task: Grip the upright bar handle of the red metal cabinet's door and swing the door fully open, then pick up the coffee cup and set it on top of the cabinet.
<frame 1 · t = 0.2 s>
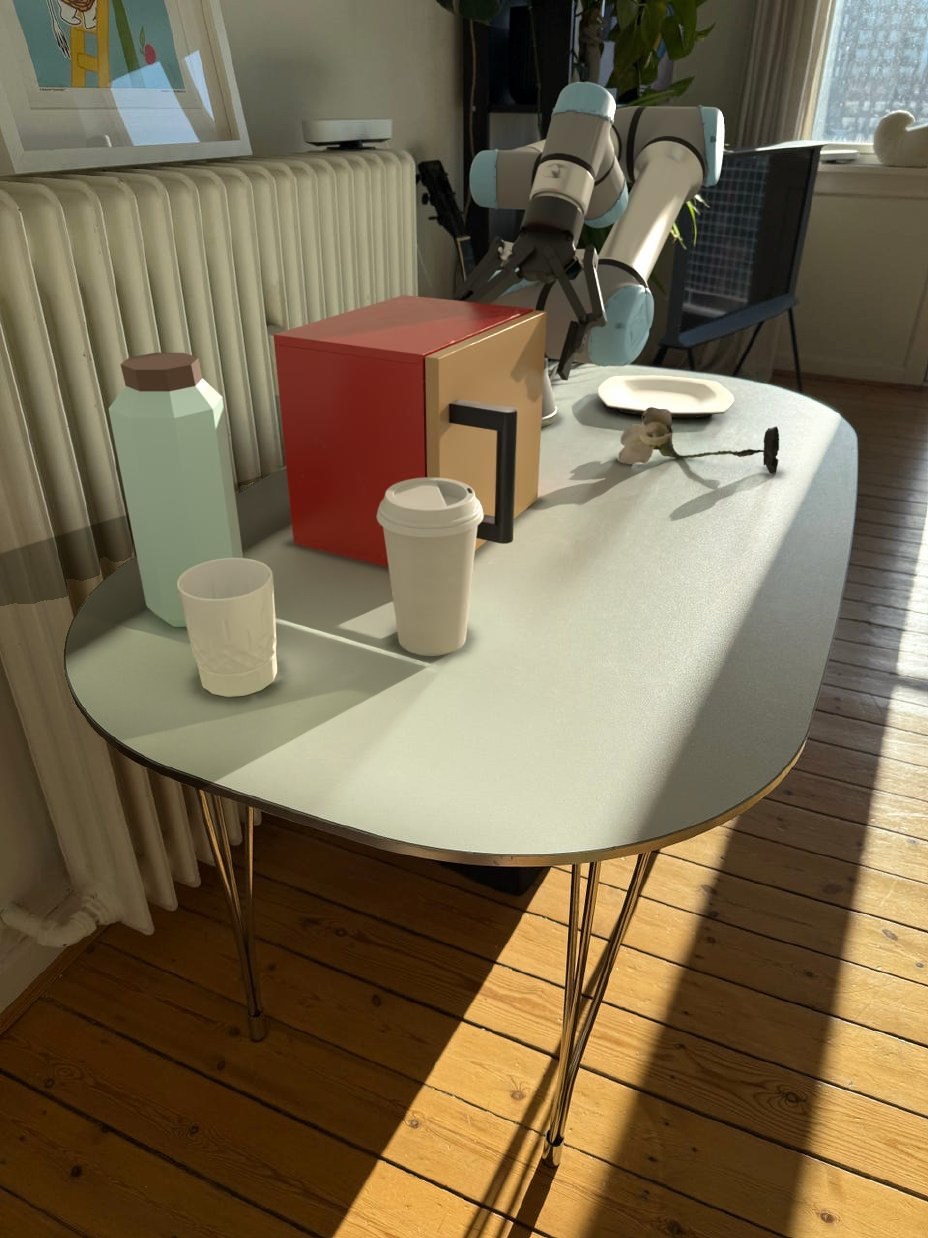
hand: (511, 368, 113), 16 cm above the table, tool tilted 35°, fingers open, 13 cm apart
cabinet: (416, 520, 112), on the table
plate: (663, 404, 156), on the table
artificial flower: (693, 466, 129), on the table
coffee cup: (432, 640, 87), on the table
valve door: (517, 443, 100), point 12 cm above the table, hinge at 0.0°
white cup: (239, 678, 81), on the table
water bottle: (199, 609, 92), on the table
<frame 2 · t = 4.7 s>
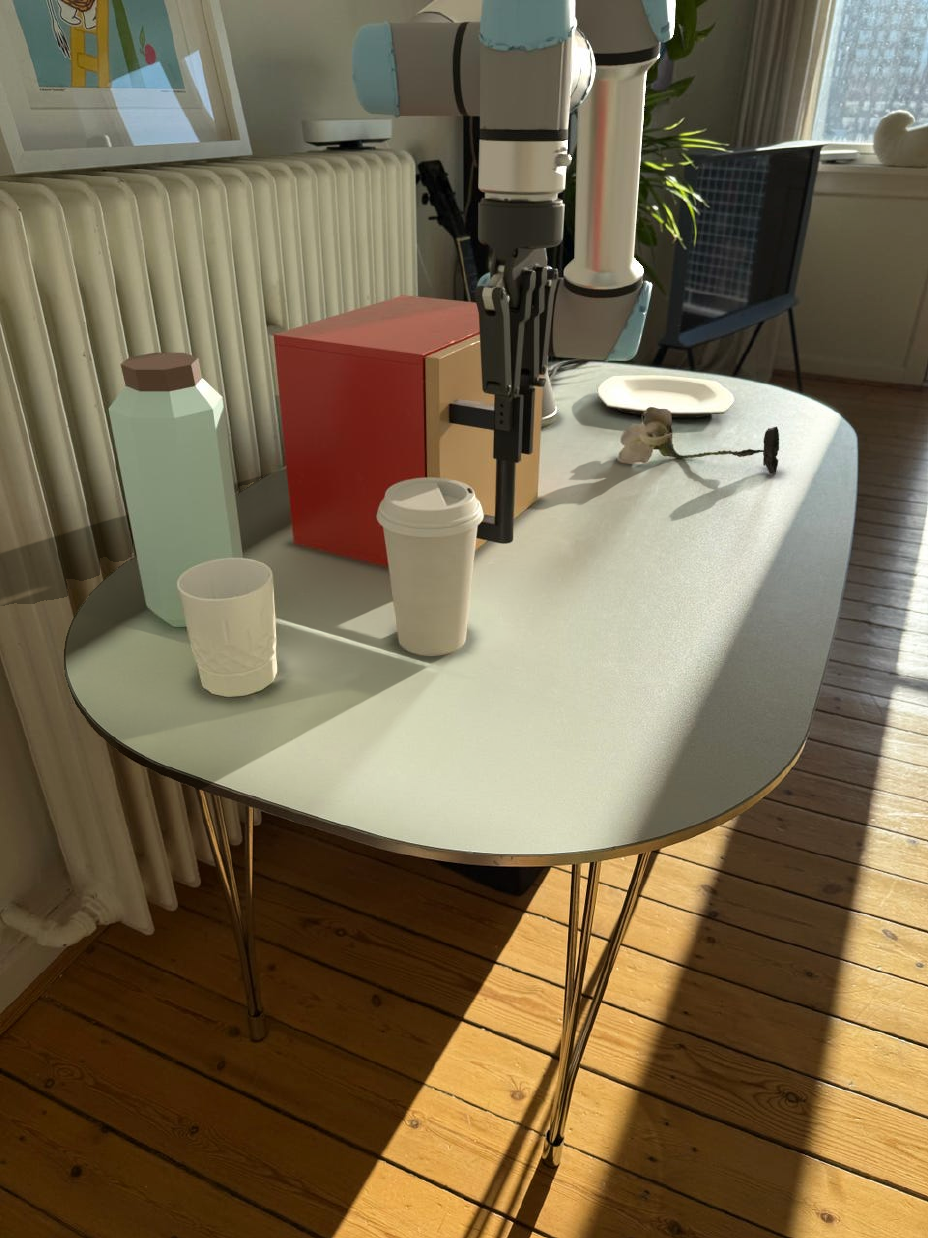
hand: (512, 454, 90), 14 cm above the table, tool pointing down, fingers closed on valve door, 2 cm apart
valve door: (518, 443, 100), point 12 cm above the table, hinge at 0.0°, touching gripper
everything else where it was.
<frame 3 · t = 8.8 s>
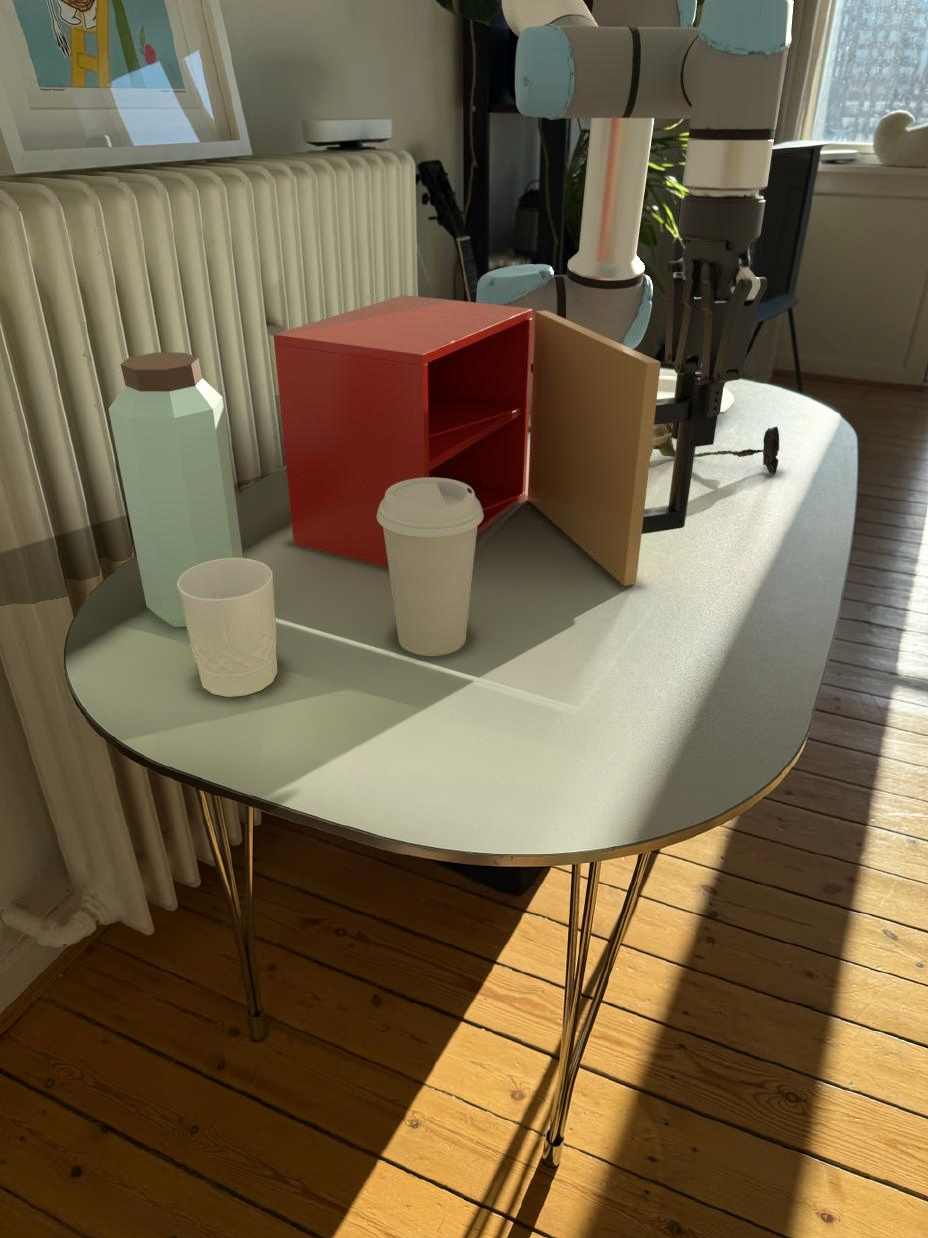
hand: (692, 440, 94), 14 cm above the table, tool pointing down, fingers open, 2 cm apart
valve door: (611, 438, 102), point 12 cm above the table, hinge at 47.9°, touching gripper
everything else where it was.
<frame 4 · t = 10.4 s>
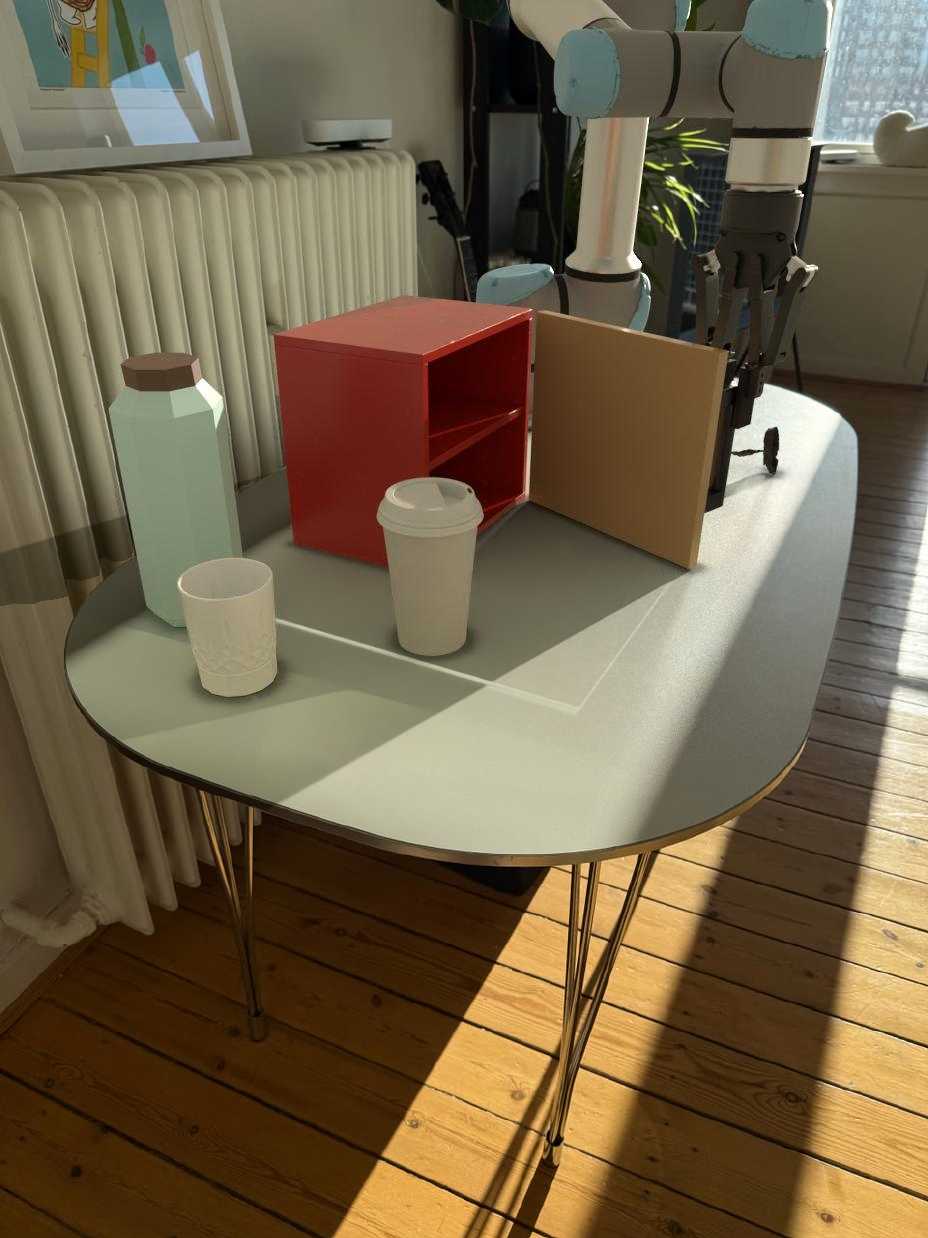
hand: (729, 422, 99), 14 cm above the table, tool pointing down, fingers closed on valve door, 2 cm apart
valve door: (635, 429, 105), point 12 cm above the table, hinge at 67.5°, touching gripper
everything else where it was.
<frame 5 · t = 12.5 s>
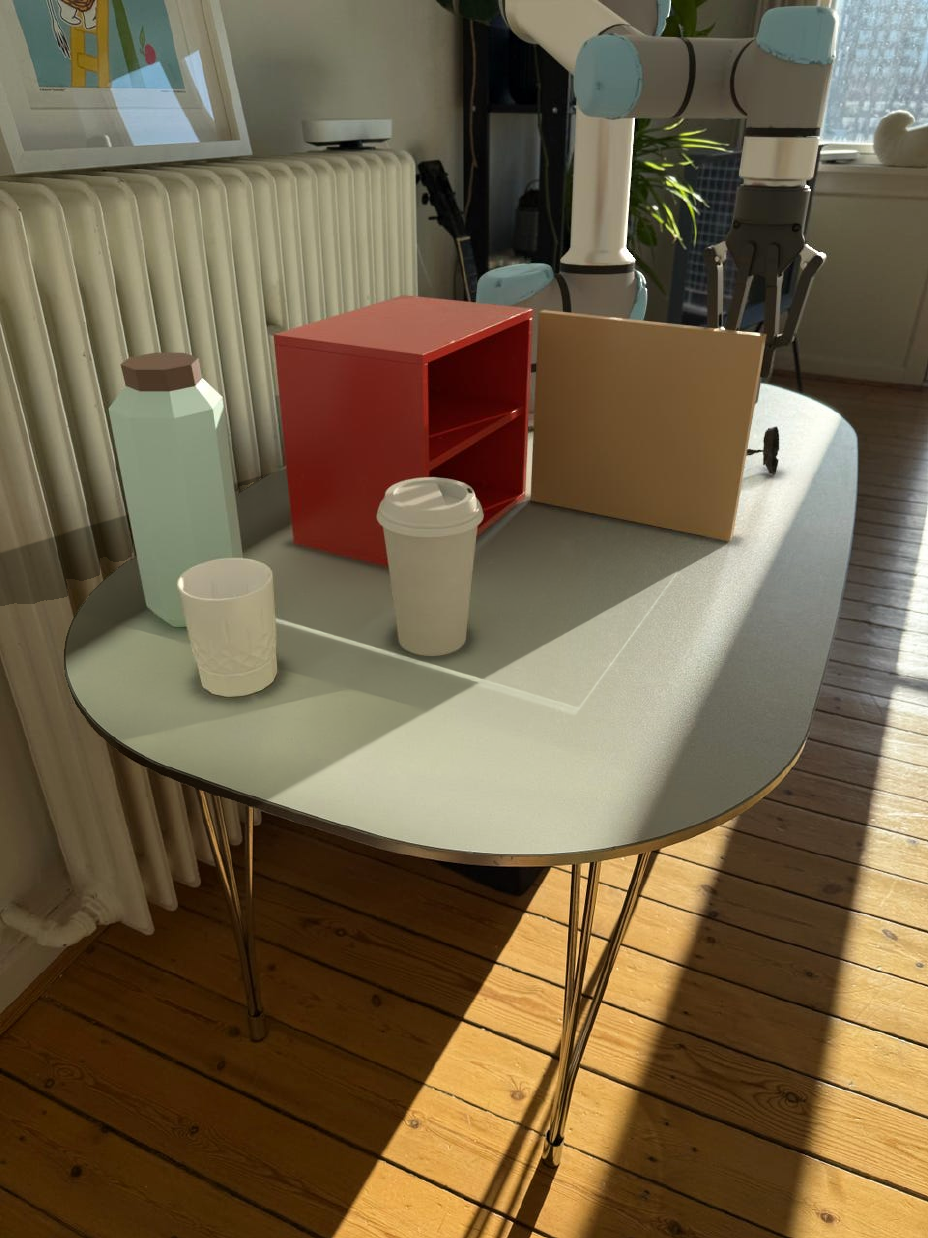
hand: (740, 401, 107), 14 cm above the table, tool pointing down, fingers open, 2 cm apart
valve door: (646, 417, 109), point 12 cm above the table, hinge at 89.3°
everything else where it was.
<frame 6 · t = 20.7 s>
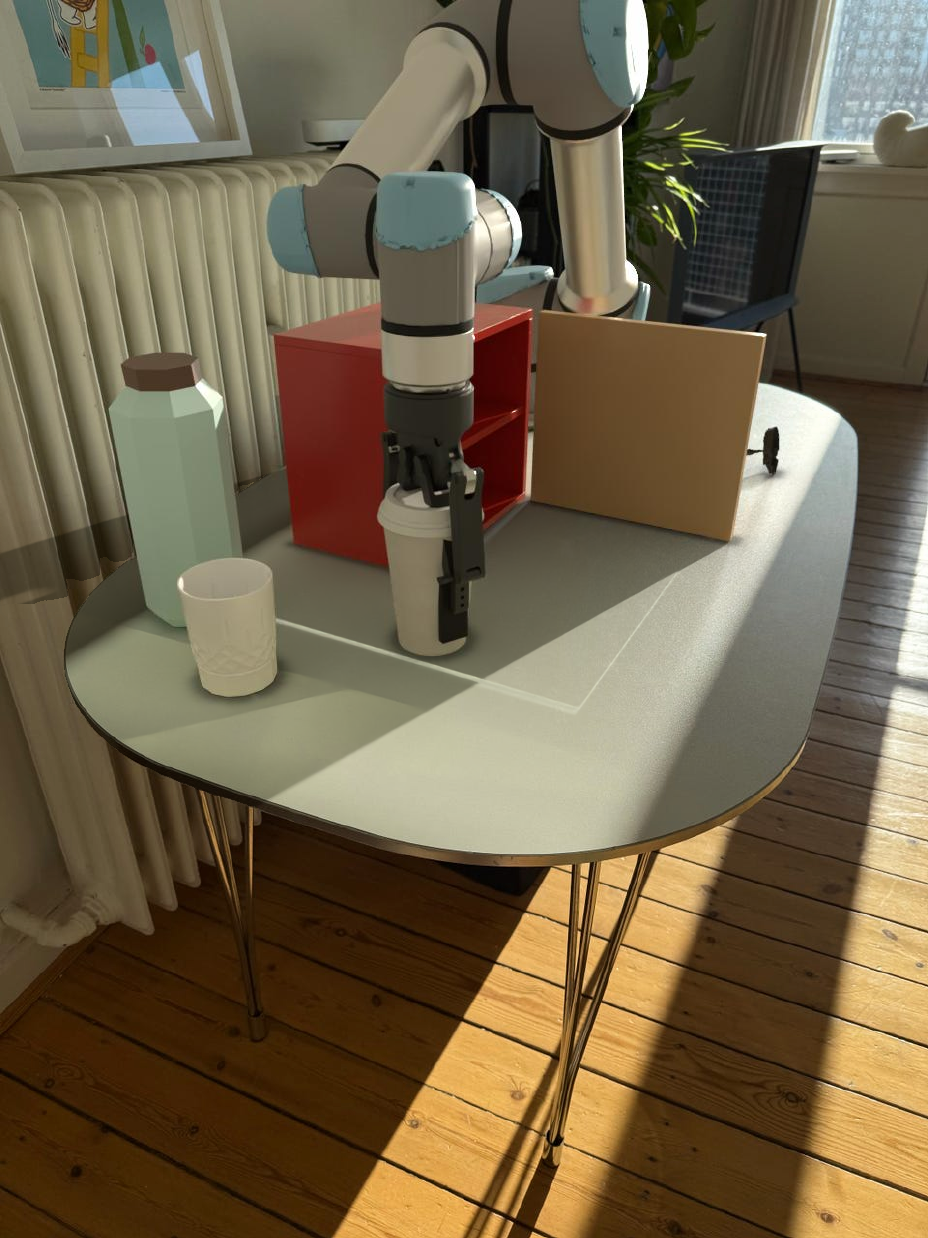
hand: (431, 620, 86), 2 cm above the table, tool pointing down, fingers closed on coffee cup, 7 cm apart
coffee cup: (432, 640, 87), on the table, touching gripper
everything else where it was.
when the fingers open (26 cm above the table, at t = 28.1 s): coffee cup stays where it is, resting on cabinet.
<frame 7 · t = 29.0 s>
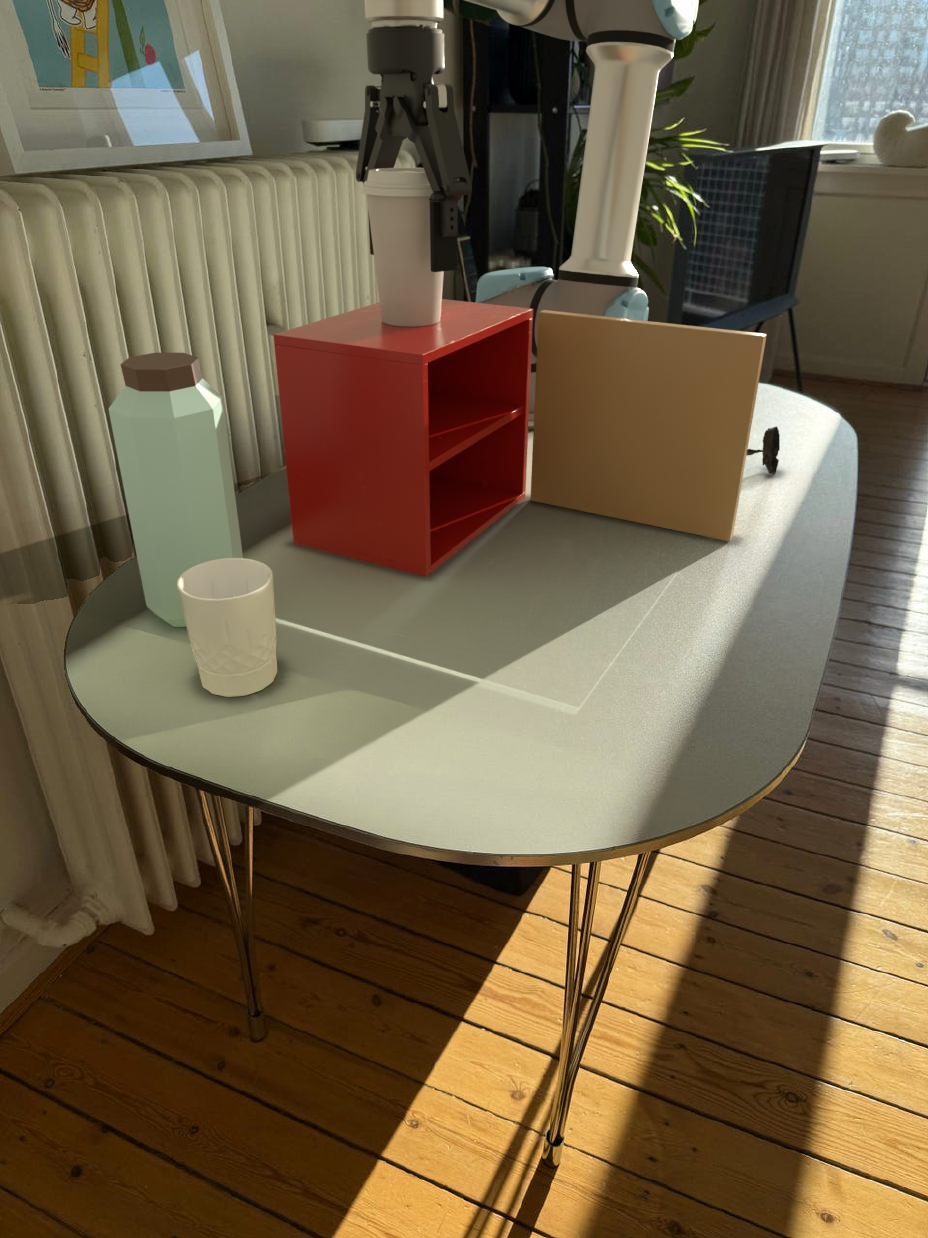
hand: (411, 262, 97), 30 cm above the table, tool pointing down, fingers open, 13 cm apart
coffee cup: (411, 322, 100), point 24 cm above the table, touching cabinet
everything else where it was.
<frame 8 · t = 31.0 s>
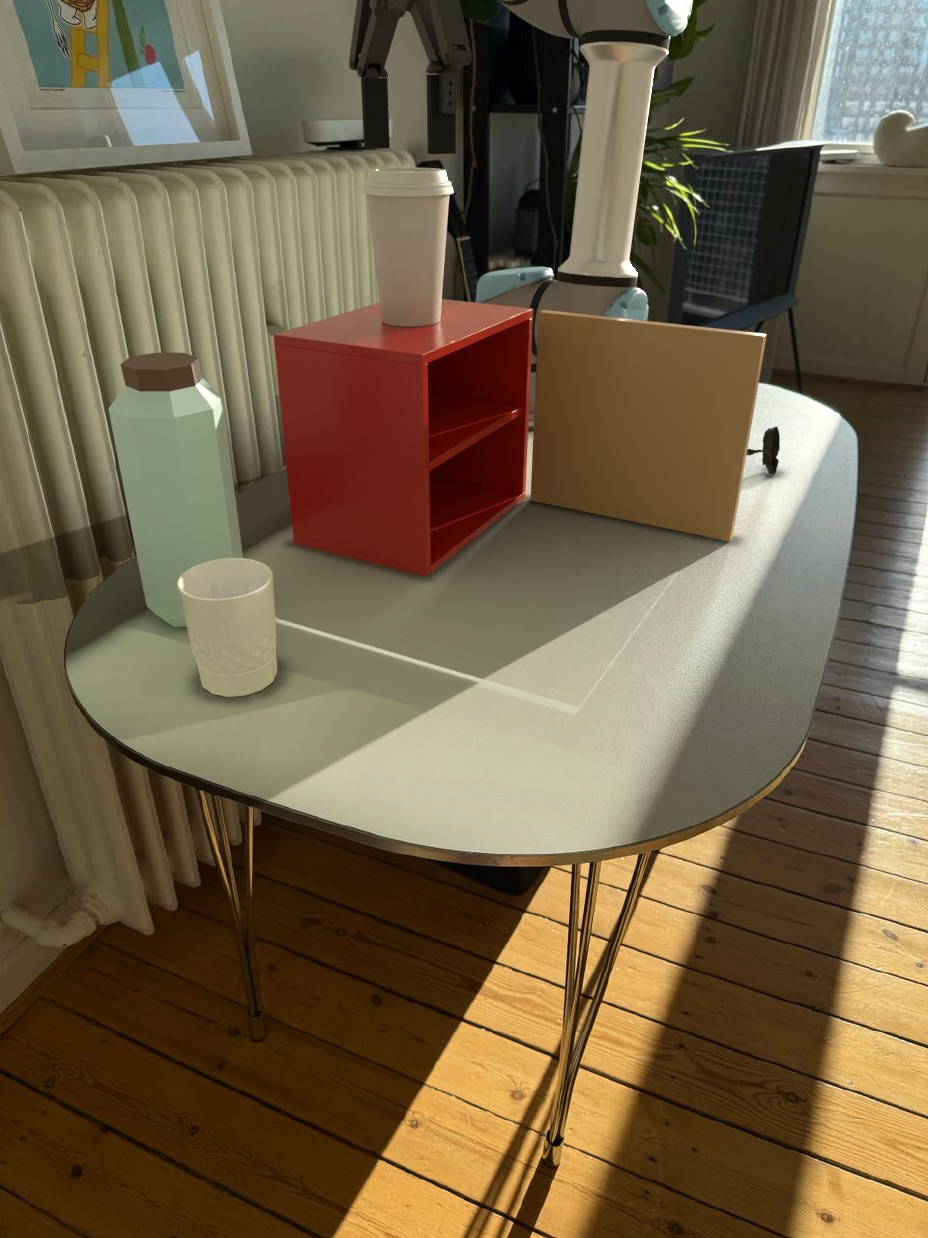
hand: (407, 151, 92), 41 cm above the table, tool pointing down, fingers open, 13 cm apart
nothing on the table moved.
at the end: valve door at +89° (first picture: +0°); coffee cup inside the target area on the cabinet (0.1 cm from its centre), point 23.8 cm above the cabinet's base; coffee cup tilted 0° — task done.
